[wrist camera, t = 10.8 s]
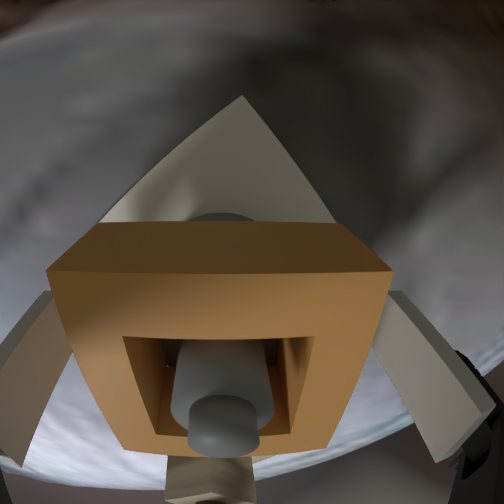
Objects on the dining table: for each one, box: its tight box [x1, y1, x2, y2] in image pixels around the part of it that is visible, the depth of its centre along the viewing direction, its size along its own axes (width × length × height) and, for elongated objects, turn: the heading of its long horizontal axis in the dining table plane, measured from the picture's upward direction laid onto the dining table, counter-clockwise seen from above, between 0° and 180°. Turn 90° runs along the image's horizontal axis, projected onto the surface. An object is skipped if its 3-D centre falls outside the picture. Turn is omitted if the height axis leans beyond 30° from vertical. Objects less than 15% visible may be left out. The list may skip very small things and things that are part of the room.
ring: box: [46, 221, 394, 457], centre depth 9 cm, size 8×8×4 cm
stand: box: [165, 455, 275, 504], centre depth 17 cm, size 12×10×10 cm
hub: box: [99, 95, 336, 458], centre depth 11 cm, size 12×12×10 cm
